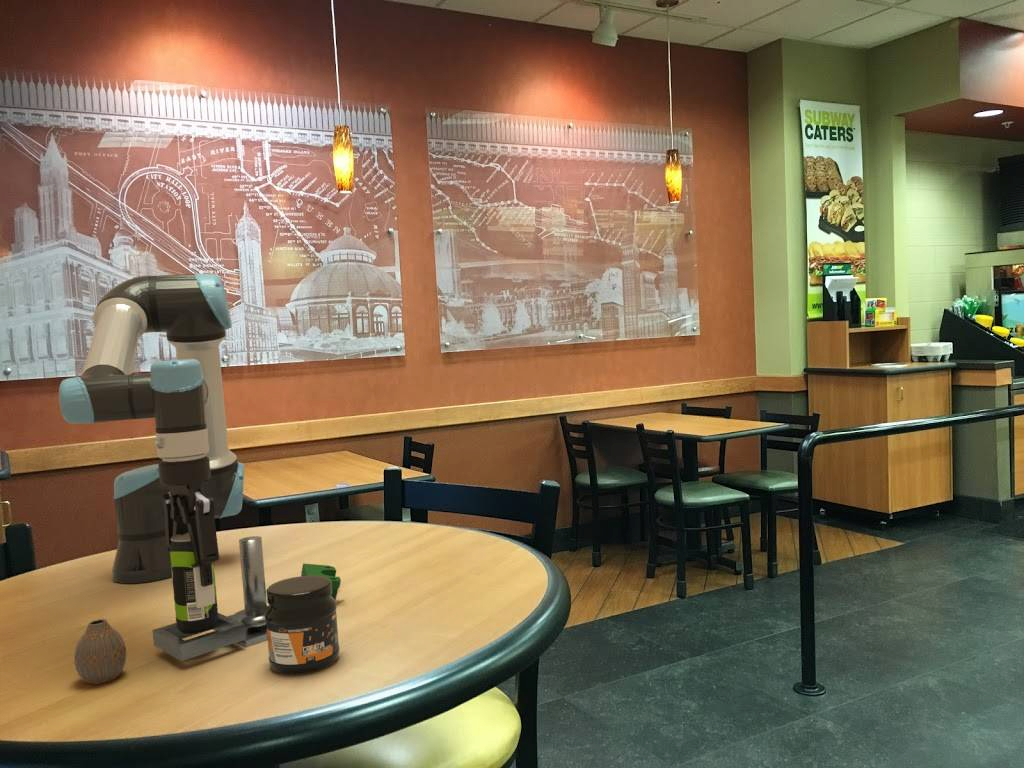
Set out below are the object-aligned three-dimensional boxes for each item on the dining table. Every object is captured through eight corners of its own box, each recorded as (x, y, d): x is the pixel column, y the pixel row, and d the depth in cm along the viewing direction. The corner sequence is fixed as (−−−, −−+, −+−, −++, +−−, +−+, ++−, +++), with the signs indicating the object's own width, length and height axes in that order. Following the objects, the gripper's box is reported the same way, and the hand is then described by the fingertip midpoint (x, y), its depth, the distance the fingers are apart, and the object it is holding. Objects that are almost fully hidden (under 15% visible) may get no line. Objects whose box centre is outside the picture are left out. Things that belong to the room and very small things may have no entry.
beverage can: (227, 622, 132) (219, 531, 131) (200, 636, 126) (192, 541, 125) (195, 620, 134) (188, 530, 133) (168, 634, 128) (160, 540, 127)
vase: (88, 671, 125) (83, 615, 124) (135, 667, 125) (130, 611, 125) (68, 691, 118) (62, 632, 117) (117, 686, 118) (111, 627, 118)
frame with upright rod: (154, 654, 130) (145, 556, 129) (266, 618, 144) (259, 529, 143) (182, 670, 123) (173, 566, 122) (297, 630, 137) (290, 537, 136)
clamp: (331, 627, 150) (342, 587, 147) (299, 624, 148) (308, 585, 145) (329, 585, 161) (338, 547, 158) (298, 582, 159) (307, 544, 156)
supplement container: (273, 683, 116) (267, 601, 116) (265, 657, 126) (258, 581, 125) (347, 667, 120) (341, 587, 120) (333, 643, 130) (327, 570, 129)
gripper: (135, 457, 132) (148, 596, 133) (187, 465, 119) (200, 620, 120) (180, 450, 137) (192, 584, 139) (235, 457, 124) (247, 606, 125)
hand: (196, 600), depth 129 cm, fingers closed on beverage can, 6 cm apart
